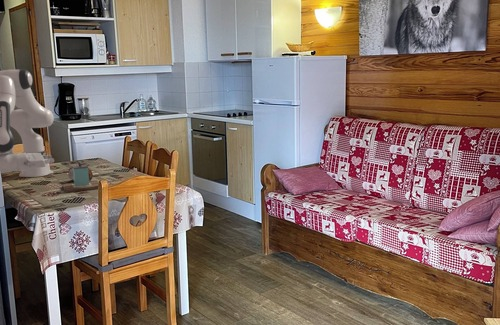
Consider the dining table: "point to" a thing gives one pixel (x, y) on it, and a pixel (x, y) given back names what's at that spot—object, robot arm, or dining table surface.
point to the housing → (80, 175)
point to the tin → (72, 174)
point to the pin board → (80, 187)
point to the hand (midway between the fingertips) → (52, 158)
